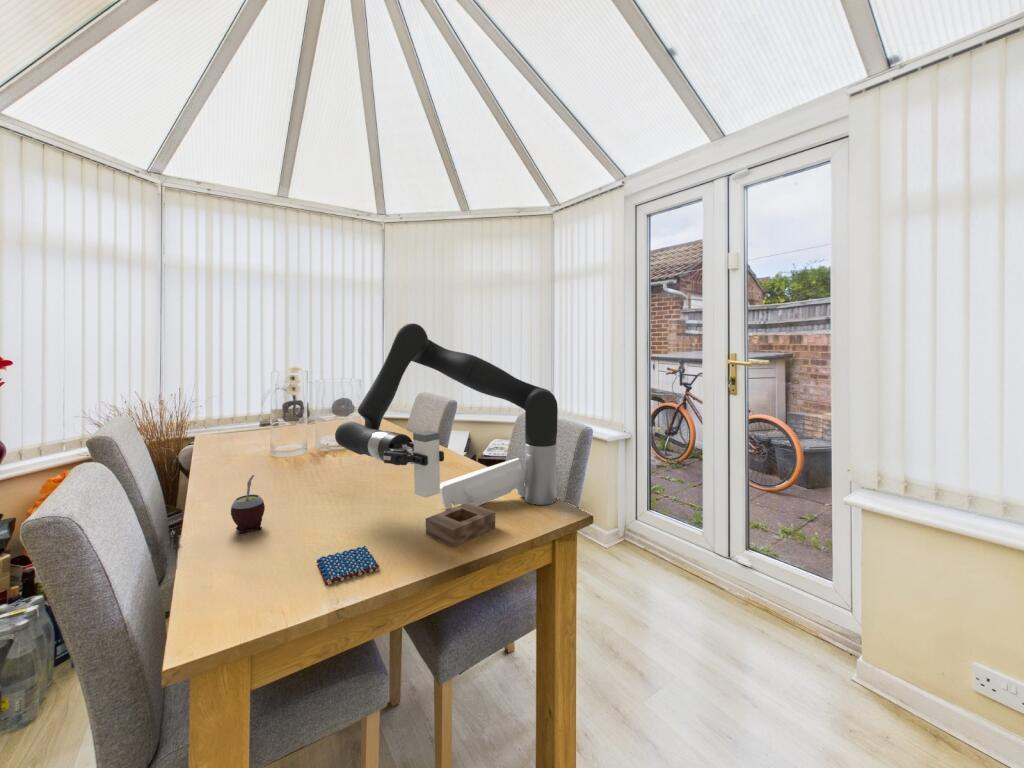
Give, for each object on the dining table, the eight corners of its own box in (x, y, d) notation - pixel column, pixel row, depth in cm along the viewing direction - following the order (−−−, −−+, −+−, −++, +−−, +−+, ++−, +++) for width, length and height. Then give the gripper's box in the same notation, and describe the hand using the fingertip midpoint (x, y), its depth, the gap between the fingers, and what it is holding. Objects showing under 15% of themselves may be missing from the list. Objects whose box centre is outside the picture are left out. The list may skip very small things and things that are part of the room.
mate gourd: (244, 523, 107) (241, 466, 106) (274, 523, 107) (272, 466, 106) (223, 536, 100) (220, 474, 99) (256, 536, 100) (253, 475, 98)
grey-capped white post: (428, 489, 98) (427, 430, 96) (440, 493, 95) (439, 432, 94) (414, 493, 95) (413, 432, 93) (425, 498, 92) (424, 435, 91)
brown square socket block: (467, 516, 112) (467, 502, 112) (495, 527, 105) (495, 512, 105) (425, 534, 101) (425, 518, 101) (453, 547, 95) (453, 530, 94)
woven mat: (381, 572, 85) (381, 563, 85) (325, 589, 79) (324, 579, 79) (367, 552, 93) (367, 543, 93) (315, 565, 87) (315, 556, 87)
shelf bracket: (529, 499, 125) (522, 460, 123) (451, 530, 115) (441, 488, 113) (521, 494, 130) (514, 456, 128) (445, 523, 120) (436, 482, 118)
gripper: (363, 436, 98) (407, 448, 87) (413, 427, 108) (458, 436, 97) (364, 468, 98) (408, 483, 87) (414, 456, 109) (459, 468, 98)
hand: (434, 458), depth 92 cm, fingers closed on grey-capped white post, 4 cm apart
